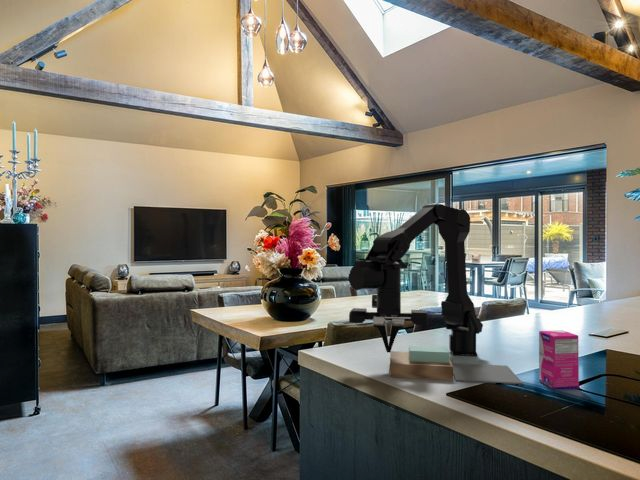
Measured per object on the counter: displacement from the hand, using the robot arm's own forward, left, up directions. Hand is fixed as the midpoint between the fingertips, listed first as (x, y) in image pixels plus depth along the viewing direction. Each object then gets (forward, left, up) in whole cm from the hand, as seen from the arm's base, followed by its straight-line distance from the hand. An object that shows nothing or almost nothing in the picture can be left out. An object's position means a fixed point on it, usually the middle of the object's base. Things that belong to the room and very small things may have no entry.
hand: (388, 352), depth 110 cm
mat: (-22, 0, -4) cm, 22 cm away
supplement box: (-36, +6, -4) cm, 37 cm away
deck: (-7, 0, -4) cm, 9 cm away
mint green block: (-9, 0, 0) cm, 9 cm away
